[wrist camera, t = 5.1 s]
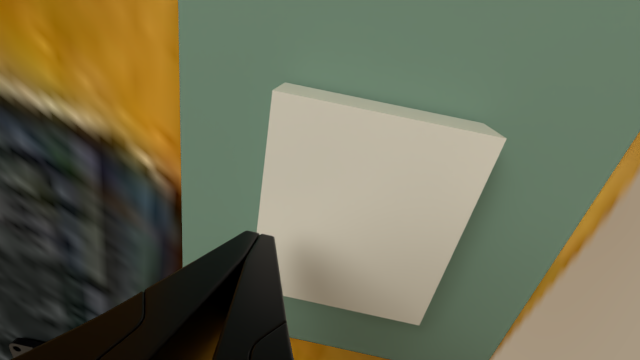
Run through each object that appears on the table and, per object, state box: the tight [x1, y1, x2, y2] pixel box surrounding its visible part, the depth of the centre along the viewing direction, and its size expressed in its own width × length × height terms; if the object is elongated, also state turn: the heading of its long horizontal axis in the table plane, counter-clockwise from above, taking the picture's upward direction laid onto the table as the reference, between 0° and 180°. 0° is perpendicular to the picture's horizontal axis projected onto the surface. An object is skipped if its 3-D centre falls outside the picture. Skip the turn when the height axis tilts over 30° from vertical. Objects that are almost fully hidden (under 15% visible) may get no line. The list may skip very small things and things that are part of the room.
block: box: [257, 82, 506, 325], centre depth 12 cm, size 8×2×7 cm
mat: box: [178, 0, 640, 360], centre depth 13 cm, size 18×16×1 cm
